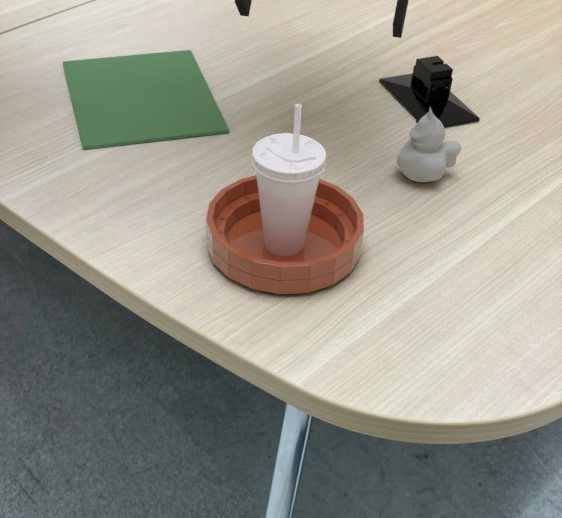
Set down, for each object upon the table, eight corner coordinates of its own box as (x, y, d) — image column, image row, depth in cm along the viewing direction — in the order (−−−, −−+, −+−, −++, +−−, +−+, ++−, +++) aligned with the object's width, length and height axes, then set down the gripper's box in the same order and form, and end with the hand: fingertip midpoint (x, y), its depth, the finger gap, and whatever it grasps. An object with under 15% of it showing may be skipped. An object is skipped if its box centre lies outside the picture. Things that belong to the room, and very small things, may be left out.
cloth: (83, 149, 84) (82, 146, 83) (63, 64, 97) (62, 61, 96) (229, 132, 87) (229, 129, 87) (190, 52, 100) (190, 49, 100)
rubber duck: (387, 164, 84) (399, 94, 78) (446, 160, 85) (461, 91, 80) (402, 193, 81) (415, 121, 75) (462, 189, 82) (480, 118, 76)
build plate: (479, 122, 92) (489, 84, 88) (425, 132, 89) (432, 94, 86) (427, 73, 99) (434, 36, 96) (376, 81, 97) (381, 44, 94)
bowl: (229, 309, 68) (228, 278, 65) (193, 213, 77) (191, 182, 74) (382, 283, 71) (387, 253, 68) (330, 194, 80) (333, 164, 78)
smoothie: (305, 272, 71) (316, 131, 61) (239, 254, 72) (239, 113, 62) (327, 232, 75) (341, 94, 65) (264, 216, 76) (268, 78, 66)
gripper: (508, -186, 69) (460, 57, 70) (232, -214, 72) (189, 19, 73) (523, -252, 61) (468, 21, 62) (214, -280, 64) (167, -20, 65)
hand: (318, 20), depth 67 cm, fingers open, 13 cm apart
